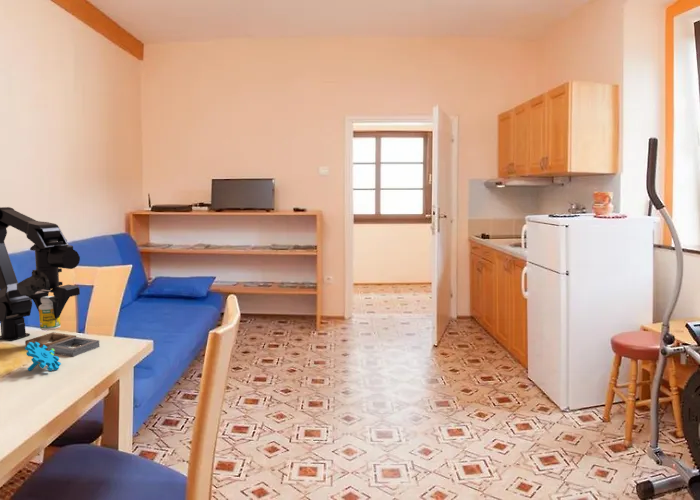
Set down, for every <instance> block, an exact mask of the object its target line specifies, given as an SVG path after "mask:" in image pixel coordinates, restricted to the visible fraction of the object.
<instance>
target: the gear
mask: <svg viewBox="0 0 700 500" xmlns="http://www.w3.org/2000/svg"><path fill="white" fill-rule="evenodd" d="M39 345H40V343H38V342H35V343H33V342H29V343H28V344H27V346H26V345H25V347H24V350H25V351H26V353H25V355H26V356H27V357H32V358H31V360H30V361H32V364H31V365H30V366H28V368H27V371H29V372H32V371H33V369H34V368H36V367H37V365H38V366H39V368H40V369H44V368H45V367H46V366H47V367H46V369H47V371H49V372H52V371H53V370H54V371H58V370H59V369H60V366H61V365H62V363H61V362H60V357H59V356H57V355H55V354H54V351H55V350H54V349H53V348H52V349H50V350H49V351H47V350H46V349H47V348H48V347H47V346H45V345H43V346H42V347H41V348H40V347H39Z"/></svg>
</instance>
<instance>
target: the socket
mask: <svg viewBox="0 0 700 500" xmlns="http://www.w3.org/2000/svg"><path fill="white" fill-rule="evenodd" d="M80 345H81V346H80ZM72 346H73V347H72ZM74 346H76V347H74ZM52 348H53V349H54V350H55V351H54V355H60V356H68V357H73V358H74V357H76V356H79V355H82V354H83V353H87V352H89V351H92V350H95V349H98V348H100V340H99V339H98V340H97V339H90V338H85V337H77V336H76V337H73V338H70V339H67V340H64V341H61V342H58V343H55V344H52V345H49V346H48V351H49V350H50V349H52Z"/></svg>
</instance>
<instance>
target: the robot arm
mask: <svg viewBox="0 0 700 500" xmlns="http://www.w3.org/2000/svg"><path fill="white" fill-rule="evenodd" d="M8 227H12V228H14V229H16V230H18V231H19V232H22V233H24V234H25V235H26V238H27V239H28V240H29V241H31V242H32V244H33V245H31V246H30V248H29V249H30V251H34V259H35V269H32V271H31V276H29V277H27V278H25V279H23V280H21V281H20V282H18V278H17V276H16V272H15V270H14V267H13V263H12V261H11V258H10V255H9V252H8V248H7V246H6V244H5V239H6V237H7V234H8V230H7V229H8ZM80 262H81V256H80V255H79V253H78V251H77V250H75V249H74V246H73V245H71V244H69V243H68V240H67V239H66V237H65V235H64V234H63V232H62V230H61V228H60V226H59V225H58V224H56V223H53V222H49V221H40V220H36V219H34V218H32V217H30V216H28V215H26V214H24V213H21V212H19V211H17V210H16V209H14V208H12V207H10V206H5V207H4V206H3V207H1V206H0V340H4V341H14V340H18V339H21V338H25V337H28V336H30V335H31V334H30V333H29V332H26V322H25V317H30V316H31V312H32V308H33V303H34V305H35V307H36V309H37V311H38V313H39V306H40V305H41V304H42V303H41V298H42V297H46V296H49V293H51V294H52V293H53V294H52V296H53V297H49V299H50V300H51V301H52V302H53V309H54V316H55V318H59V316H60V317H61V314H62V312H63V310H64V308H65V306H66V304H67V302H68V301H69V300H70V297H75V296H80V293H81V290H80V287H79V286H78V285H75V284H66V285H63V281H60V277H59V276H60V275H59V274H60V273H62V272H63V269H67V270H74V269H75V268H77V267H78V266H79V265H80V264H79V263H80Z"/></svg>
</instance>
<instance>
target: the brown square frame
mask: <svg viewBox="0 0 700 500" xmlns="http://www.w3.org/2000/svg"><path fill="white" fill-rule="evenodd" d="M73 337H77V335H74V334H73V335H72V334H67V333H66V334H65V333H60V332H54V331H53V332H50V333H46V334H43V335H40V336H37V337H33V338H29V339H27V340H24V341H25V347H26V346H27V344H28V343H29V342H33V343H35V342H38V343H40V345H39V347H40V348H41V347H42V346H43V345H45V346H47V347H48V346H49V345H52V344H55V343H58V342H61V341H64V340H67V339H70V338H73ZM51 341H52V342H51ZM46 350H47V351H48V348H47V349H46Z"/></svg>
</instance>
